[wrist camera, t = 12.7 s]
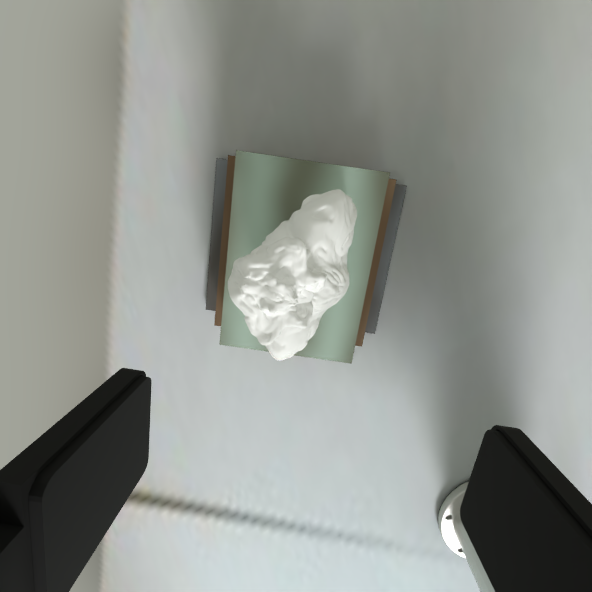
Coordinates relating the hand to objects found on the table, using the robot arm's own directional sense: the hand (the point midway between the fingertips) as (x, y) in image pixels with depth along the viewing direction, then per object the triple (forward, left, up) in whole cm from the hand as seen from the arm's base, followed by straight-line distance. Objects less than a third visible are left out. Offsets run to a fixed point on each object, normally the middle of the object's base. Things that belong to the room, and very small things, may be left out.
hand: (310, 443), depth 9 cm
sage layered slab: (+1, -2, -27) cm, 27 cm away
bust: (+1, -2, -18) cm, 18 cm away
